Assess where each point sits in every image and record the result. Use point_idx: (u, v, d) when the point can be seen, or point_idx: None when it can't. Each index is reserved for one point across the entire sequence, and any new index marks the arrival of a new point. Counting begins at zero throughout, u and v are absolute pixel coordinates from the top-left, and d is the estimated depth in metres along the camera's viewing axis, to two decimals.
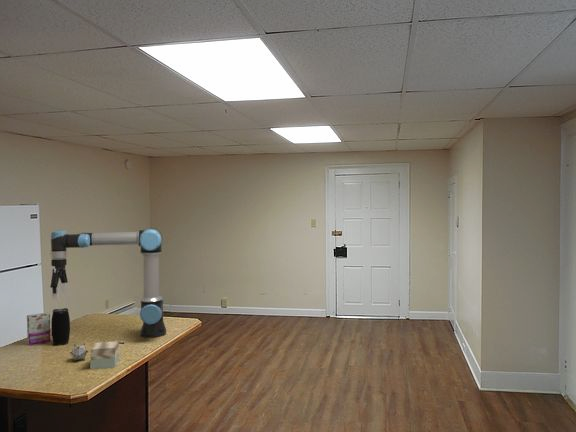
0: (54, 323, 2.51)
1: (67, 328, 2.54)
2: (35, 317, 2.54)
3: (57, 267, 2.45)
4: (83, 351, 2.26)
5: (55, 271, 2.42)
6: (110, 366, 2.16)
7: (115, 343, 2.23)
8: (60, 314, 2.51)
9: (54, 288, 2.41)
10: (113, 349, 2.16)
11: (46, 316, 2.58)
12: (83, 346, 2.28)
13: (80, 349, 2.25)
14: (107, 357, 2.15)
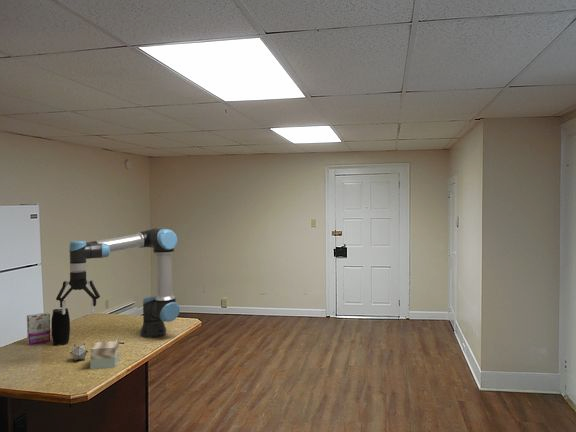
0: (54, 323, 2.51)
1: (67, 328, 2.54)
2: (35, 317, 2.54)
3: None
4: (83, 351, 2.26)
5: None
6: (110, 365, 2.16)
7: (115, 343, 2.23)
8: (60, 314, 2.51)
9: None
10: (113, 349, 2.16)
11: (46, 316, 2.58)
12: (83, 346, 2.28)
13: (80, 349, 2.25)
14: (107, 357, 2.15)
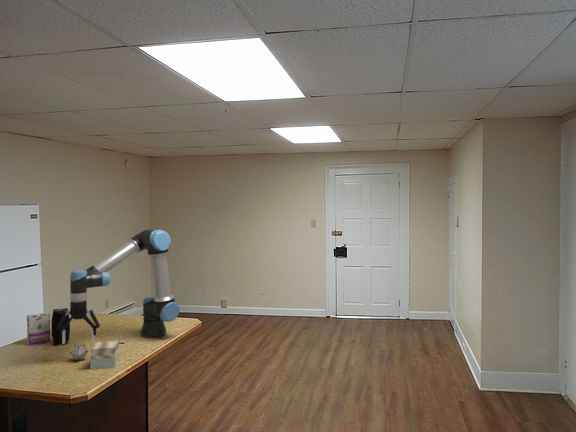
0: (54, 323, 2.51)
1: (67, 328, 2.54)
2: (35, 317, 2.54)
3: None
4: (83, 351, 2.26)
5: None
6: (110, 365, 2.16)
7: (115, 343, 2.23)
8: (60, 314, 2.51)
9: None
10: (113, 349, 2.16)
11: (46, 316, 2.58)
12: (83, 346, 2.28)
13: (80, 349, 2.25)
14: (107, 357, 2.16)
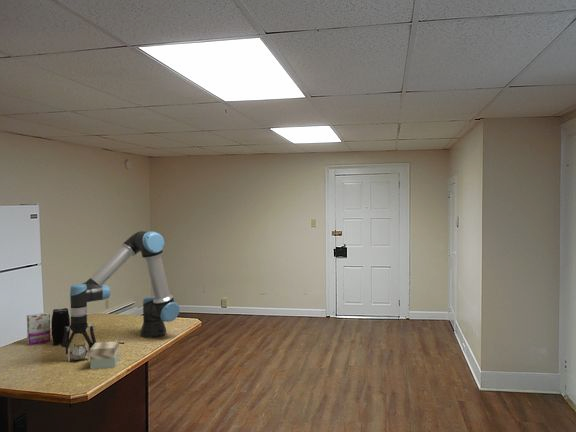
0: (54, 323, 2.51)
1: None
2: (35, 317, 2.54)
3: None
4: (83, 351, 2.26)
5: None
6: (110, 365, 2.16)
7: (115, 343, 2.23)
8: (60, 314, 2.51)
9: None
10: (112, 349, 2.16)
11: (46, 316, 2.58)
12: (83, 346, 2.28)
13: (80, 349, 2.25)
14: (106, 358, 2.15)
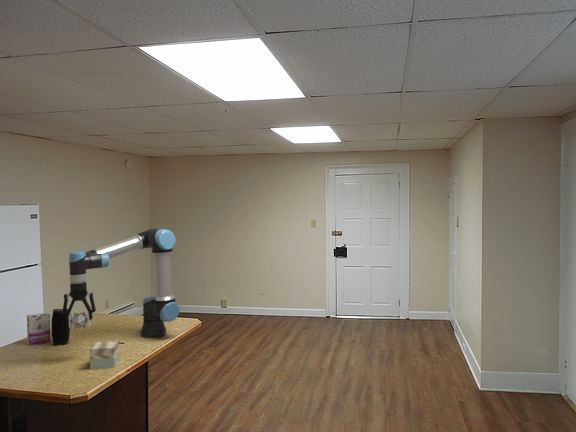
0: (54, 323, 2.51)
1: (67, 328, 2.54)
2: (35, 317, 2.54)
3: None
4: (83, 319, 2.26)
5: None
6: (110, 365, 2.16)
7: (115, 343, 2.23)
8: (60, 314, 2.51)
9: None
10: (112, 349, 2.16)
11: (46, 316, 2.58)
12: (83, 314, 2.28)
13: (80, 317, 2.25)
14: (106, 357, 2.15)
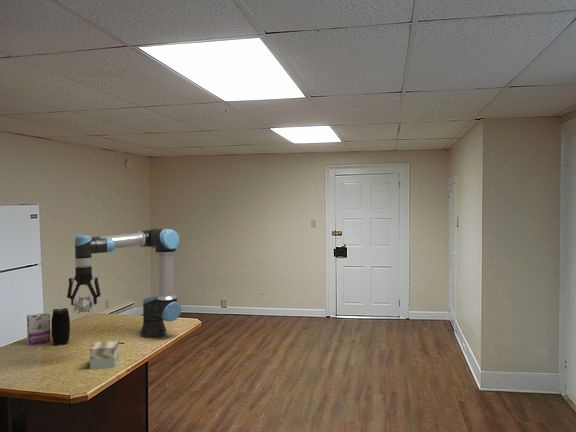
0: (54, 323, 2.51)
1: (67, 328, 2.54)
2: (35, 317, 2.54)
3: None
4: (87, 303, 2.24)
5: None
6: (110, 365, 2.16)
7: (115, 343, 2.23)
8: (60, 314, 2.51)
9: None
10: (112, 349, 2.16)
11: (46, 316, 2.58)
12: (88, 298, 2.26)
13: (84, 301, 2.23)
14: (106, 357, 2.16)
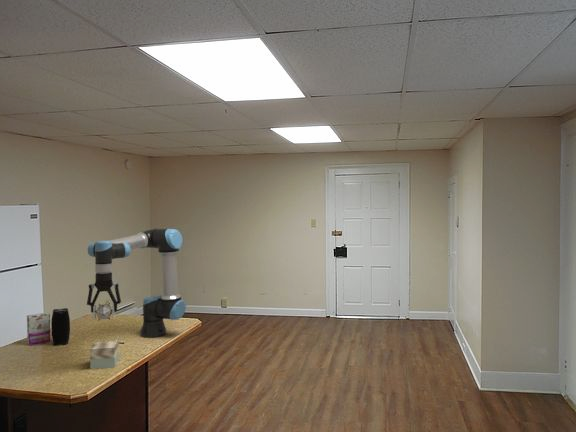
0: (54, 323, 2.51)
1: (67, 328, 2.54)
2: (35, 317, 2.54)
3: None
4: (108, 310, 2.18)
5: None
6: (110, 365, 2.16)
7: (115, 343, 2.23)
8: (60, 314, 2.51)
9: None
10: (112, 349, 2.16)
11: (46, 316, 2.58)
12: (108, 305, 2.21)
13: (105, 308, 2.18)
14: (106, 357, 2.16)
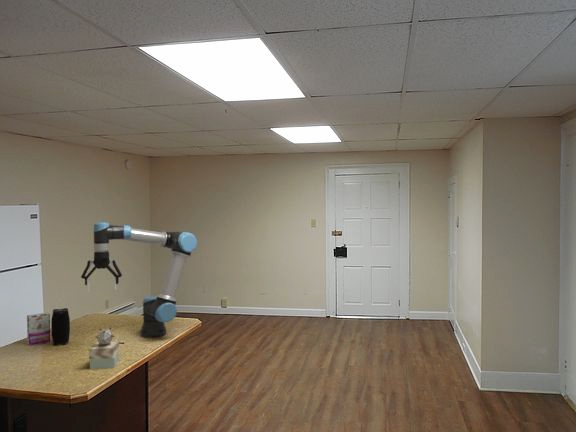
0: (54, 323, 2.51)
1: (67, 328, 2.54)
2: (35, 317, 2.54)
3: None
4: (109, 336, 2.19)
5: None
6: (110, 365, 2.16)
7: (115, 343, 2.23)
8: (60, 314, 2.51)
9: None
10: (111, 349, 2.15)
11: (46, 316, 2.58)
12: (109, 331, 2.21)
13: (106, 334, 2.18)
14: (105, 357, 2.15)
